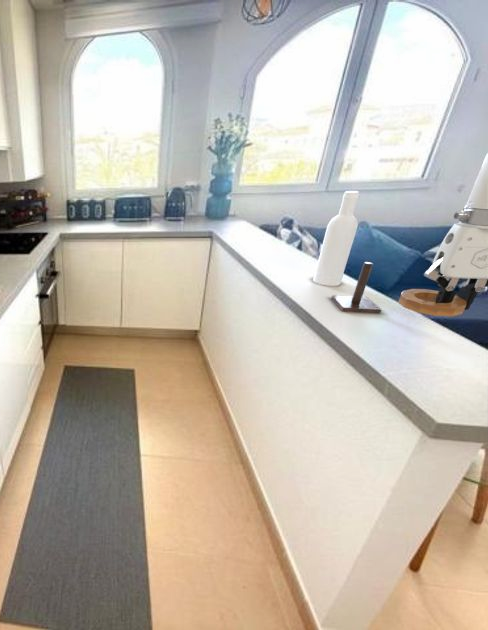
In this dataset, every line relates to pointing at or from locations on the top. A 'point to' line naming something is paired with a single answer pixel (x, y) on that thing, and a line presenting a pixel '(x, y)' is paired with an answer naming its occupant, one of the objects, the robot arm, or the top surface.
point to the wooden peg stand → (358, 295)
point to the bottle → (337, 243)
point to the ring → (430, 303)
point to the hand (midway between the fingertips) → (451, 306)
